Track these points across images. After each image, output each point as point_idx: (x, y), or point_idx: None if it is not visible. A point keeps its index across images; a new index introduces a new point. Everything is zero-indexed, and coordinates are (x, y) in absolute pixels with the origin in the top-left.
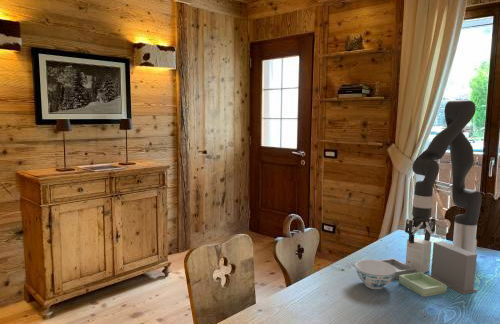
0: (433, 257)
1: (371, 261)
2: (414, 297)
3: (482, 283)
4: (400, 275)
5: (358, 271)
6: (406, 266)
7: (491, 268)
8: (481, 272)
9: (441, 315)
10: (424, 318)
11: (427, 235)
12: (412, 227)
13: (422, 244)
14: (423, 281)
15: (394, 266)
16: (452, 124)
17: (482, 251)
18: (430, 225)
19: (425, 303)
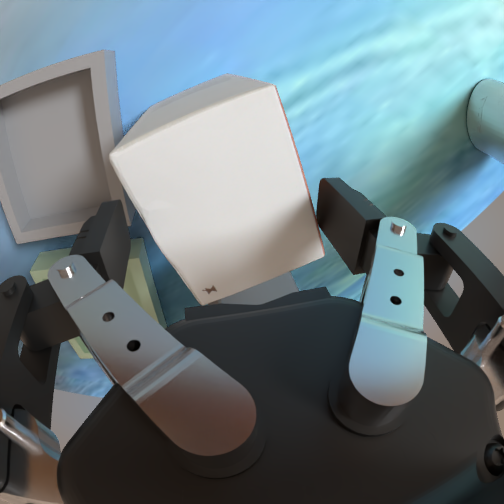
0: (220, 299)
1: None
2: None
3: (345, 295)
4: (33, 274)
5: None
6: (108, 176)
7: (472, 212)
8: (426, 229)
9: (92, 389)
10: (55, 387)
11: (345, 244)
12: (90, 349)
13: (191, 288)
14: (129, 279)
15: (83, 105)
16: None
17: None
18: (461, 298)
19: (76, 358)
